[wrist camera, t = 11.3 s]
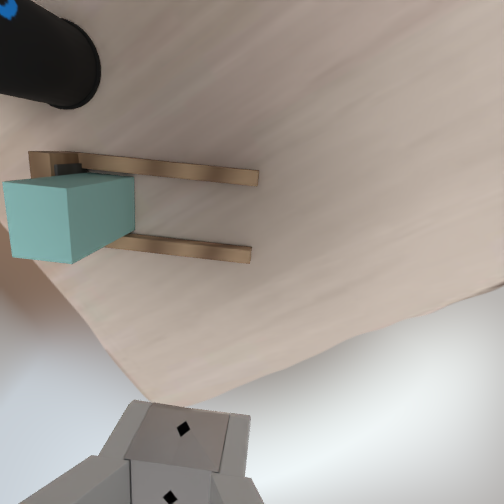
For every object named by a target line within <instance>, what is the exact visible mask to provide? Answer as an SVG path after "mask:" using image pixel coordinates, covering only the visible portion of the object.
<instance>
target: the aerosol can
mask: <svg viewBox="0 0 504 504" xmlns="http://www.w3.org/2000/svg"><path fill="white" fill-rule="evenodd" d="M99 81H100V61H99V56H98V54H97V51H96V48H95V46H94V44H93V43H92V41H91V39H90V38H89V37H88V35H87V34H86V33H85V32H84V31H83V30H82V29H81V28H80V27H79V26H77V25H76V24H74V23H73V22H71V21H68V20H66V19H63V18H59V17H57V16H55V15H54V14H52V13H51V12H49V11H47V10H46V9H44V8H42V7H41V6H39V5H37V4H36V3H34V2H33V1H31V0H0V94H5V95H10V96H14V97H19V98H24V99H29V100H34V101H38V102H43V103H47V104H49V105H51V106H53V107H56V108H59V109H74V108H78V107H81V106H82V105H84V104H85V103H87V102H88V101H89V100H90V99H91V98H92V97H93V95H94V94H95V92H96V90H97V87H98V85H99Z"/></svg>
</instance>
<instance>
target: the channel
mask: <svg viewBox="0 0 504 504" xmlns="http://www.w3.org/2000/svg"><path fill="white" fill-rule="evenodd" d="M28 154H29V163H30V173H31V179H33V178H42V177H51V176H60V175H69V174H79V173H87V169H94V170H103V171H113V172H123V173H132V174H142V175H152V176H162V177H171V178H181V179H191V180H200V181H210V182H220V183H229V184H239V185H249V186H257V185H258V178H259V171H258V170H248V169H238V168H228V167H218V166H209V165H199V164H189V163H179V162H169V161H159V160H149V159H139V158H129V157H119V156H109V155H100V154H90V153H80V152H70V151H28ZM104 247H106V248H115V249H124V250H132V251H141V252H150V253H159V254H167V255H176V256H185V257H193V258H202V259H211V260H220V261H228V262H237V263H246V264H250V260H251V250H252V247H245V246H237V245H228V244H219V243H210V242H201V241H192V240H183V239H174V238H165V237H156V236H147V235H138V234H130V233H128V234H126V235H125V236H123V237H121V238H119V239H117V240H115V241H114V242H112V243H110V244H108V245H106V246H104Z"/></svg>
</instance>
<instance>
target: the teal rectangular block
mask: <svg viewBox="0 0 504 504" xmlns="http://www.w3.org/2000/svg"><path fill="white" fill-rule="evenodd" d="M2 183H3V190H4V198H5V205H6V213H7V220H8V228H9V235H10V243H11V250H12V257H18V258H25V259H34V260H42V261H51V262H59V263H68V264H73V263H75V262H77V261H79V260H80V259H82V258H84V257H86V256H88V255H90V254H92V253H93V252H95V251H97V250H99V249H101V248H103V247H104V246H106V245H108V244H110V243H112V242H114V241H115V240H117V239H119V238H121V237H123V236H125V235H126V234H128V233H130V232H132V231H134V230H135V202H134V177H131V176H121V175H111V174H102V173H92V172H88V173H79V174H69V175H60V176H51V177H42V178H33V179H24V180H14V181H5V182H2Z"/></svg>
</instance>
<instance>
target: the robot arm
mask: <svg viewBox="0 0 504 504" xmlns="http://www.w3.org/2000/svg"><path fill="white" fill-rule="evenodd" d="M250 420H251V417H250V415H243V414H235V413H231V414H230V413H225V412H217V411H209V410H201V409H193V408H192V409H191V408H185V407H179V406H173V405H166V404H160V403H151V402H144V401H139V400H133V401H132V402H131V403H130V404H129V405H128V407H127V408H126V410H125V412H124V413H123V415H122V417H121V419H120V420H119V422H118V423H117V425H116V427H115V428H114V430H113V432H112V433H111V435H110V437H109V438H108V440H107V442H106V443H105V445H104V447H103V448H102V450H101V452H100V453H99V455H98V456H94V455H91V456H90V457H88V458H87V459H85V460H84V461H82V462H81V463H79V464H78V465H76V466H75V467H73V468H72V469H70V470H69V471H67V472H66V473H64V474H63V475H61V476H60V477H58V478H57V479H55V480H54V481H52V482H51V483H49V484H48V485H46V486H45V487H43V488H42V489H40V490H38V491H37V492H36V493H34V494H32V495H31V496H30V497H28V498H26V499H25V500H23V501H22V502H20V503H19V504H264V503H263V500H262V498H261V497H260V495H259V493H258V491H257V489H256V487H255V485H254V483H253V481H252V479H251V478H247V477H245V469H246V459H247V449H248V440H249V431H250Z"/></svg>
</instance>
